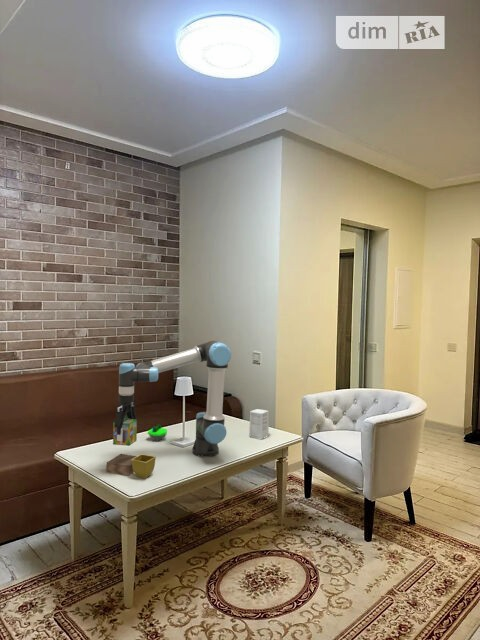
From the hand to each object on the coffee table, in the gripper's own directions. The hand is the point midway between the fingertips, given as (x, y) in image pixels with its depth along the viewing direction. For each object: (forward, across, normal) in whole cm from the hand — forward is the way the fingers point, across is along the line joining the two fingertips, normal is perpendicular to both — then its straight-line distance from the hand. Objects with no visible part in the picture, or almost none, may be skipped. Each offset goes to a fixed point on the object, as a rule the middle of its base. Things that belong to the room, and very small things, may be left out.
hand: (125, 437), depth 225 cm
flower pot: (+17, +4, +13) cm, 21 cm away
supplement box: (+16, -79, +50) cm, 95 cm away
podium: (+16, 0, 0) cm, 16 cm away
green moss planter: (+16, -49, -7) cm, 52 cm away
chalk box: (+3, 0, 0) cm, 3 cm away
